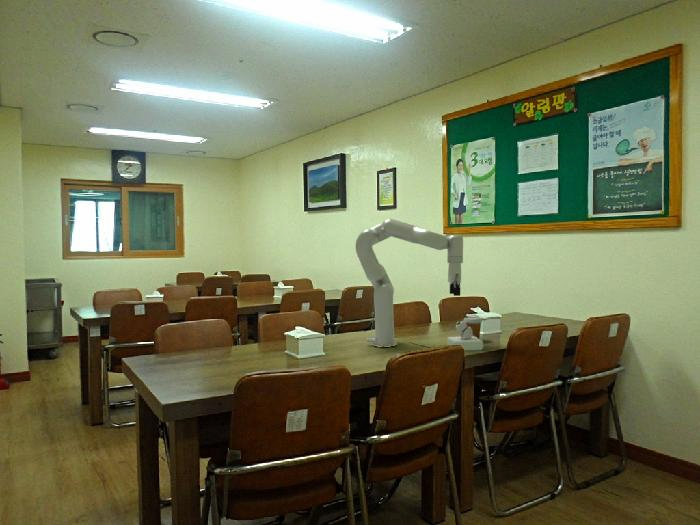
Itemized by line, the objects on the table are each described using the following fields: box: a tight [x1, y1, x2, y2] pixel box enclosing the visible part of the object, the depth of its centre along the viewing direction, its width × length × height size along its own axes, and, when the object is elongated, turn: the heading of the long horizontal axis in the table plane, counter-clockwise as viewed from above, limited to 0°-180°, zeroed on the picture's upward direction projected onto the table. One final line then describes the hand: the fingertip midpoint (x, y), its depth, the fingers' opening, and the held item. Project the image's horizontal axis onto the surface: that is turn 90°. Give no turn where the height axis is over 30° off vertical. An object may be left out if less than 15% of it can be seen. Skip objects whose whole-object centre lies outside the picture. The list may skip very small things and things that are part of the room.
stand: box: [446, 336, 484, 351], centre depth 260 cm, size 14×14×4 cm
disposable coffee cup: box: [462, 316, 483, 339], centre depth 275 cm, size 10×10×12 cm
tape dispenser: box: [455, 320, 473, 340], centre depth 260 cm, size 6×7×10 cm
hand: (454, 294), depth 264 cm, fingers open, 9 cm apart
